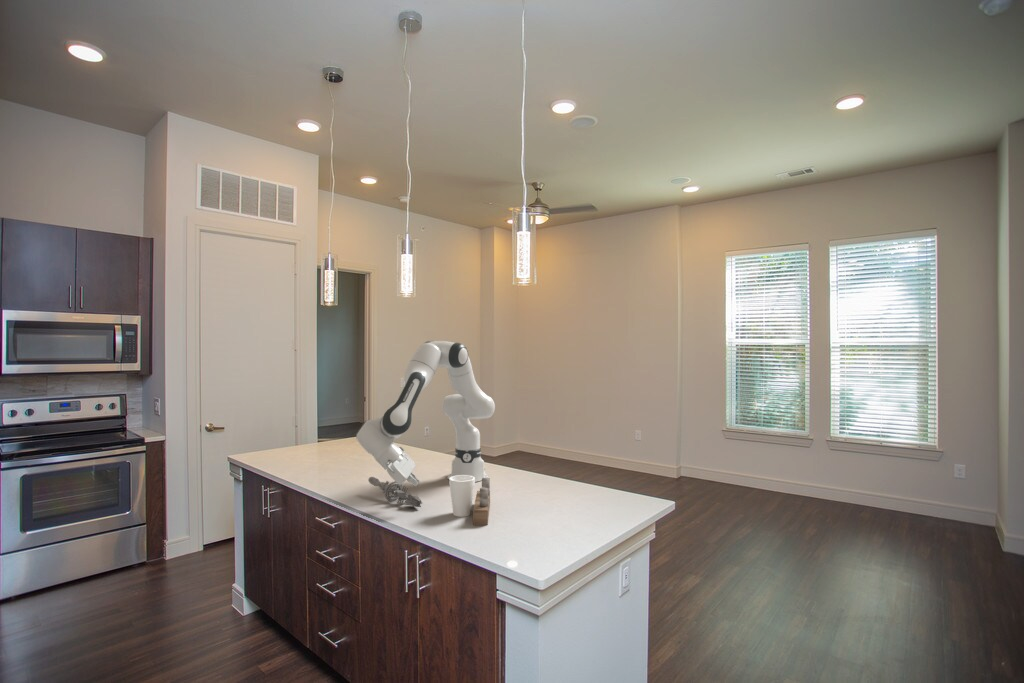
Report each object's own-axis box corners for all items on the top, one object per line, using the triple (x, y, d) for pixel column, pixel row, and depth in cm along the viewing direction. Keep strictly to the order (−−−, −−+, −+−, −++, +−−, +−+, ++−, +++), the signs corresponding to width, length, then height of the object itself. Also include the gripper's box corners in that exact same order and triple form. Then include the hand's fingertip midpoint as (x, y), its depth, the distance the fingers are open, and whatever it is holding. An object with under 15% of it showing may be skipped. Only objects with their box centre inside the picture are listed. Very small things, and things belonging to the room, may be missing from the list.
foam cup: (479, 512, 188) (480, 477, 188) (464, 519, 180) (464, 482, 180) (459, 508, 193) (459, 473, 193) (443, 515, 185) (443, 479, 185)
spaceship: (379, 471, 217) (364, 467, 212) (431, 496, 194) (417, 492, 188) (372, 489, 215) (357, 486, 210) (424, 516, 192) (409, 513, 187)
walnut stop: (477, 503, 199) (477, 475, 199) (490, 503, 199) (490, 475, 199) (473, 525, 175) (473, 492, 175) (487, 525, 175) (487, 492, 175)
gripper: (390, 458, 177) (419, 486, 177) (402, 446, 198) (427, 471, 198) (378, 471, 177) (406, 498, 177) (391, 457, 198) (416, 482, 198)
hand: (417, 484), depth 188 cm, fingers closed
